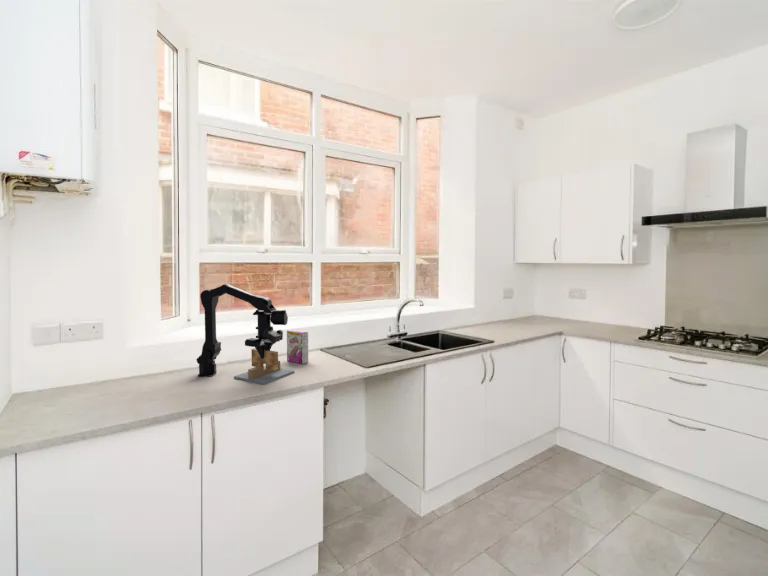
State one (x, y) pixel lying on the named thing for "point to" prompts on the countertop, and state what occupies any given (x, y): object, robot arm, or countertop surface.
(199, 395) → the countertop surface
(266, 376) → the joint board
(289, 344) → the candy bar box
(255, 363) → the crossbar
